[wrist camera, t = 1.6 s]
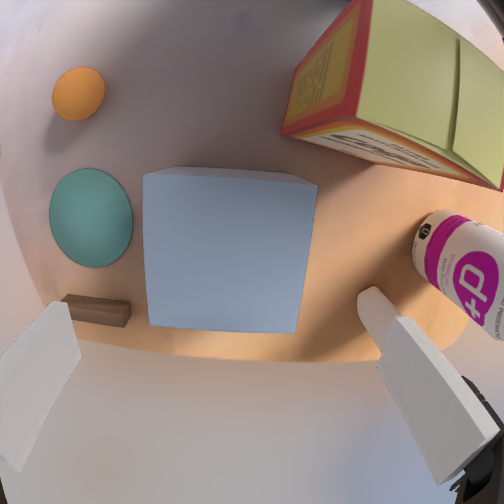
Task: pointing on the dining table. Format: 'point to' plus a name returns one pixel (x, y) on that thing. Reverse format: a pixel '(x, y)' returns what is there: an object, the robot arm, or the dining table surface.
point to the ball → (78, 93)
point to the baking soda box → (401, 94)
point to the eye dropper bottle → (376, 315)
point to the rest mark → (91, 217)
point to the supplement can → (464, 265)
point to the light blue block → (226, 248)
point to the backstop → (98, 310)
